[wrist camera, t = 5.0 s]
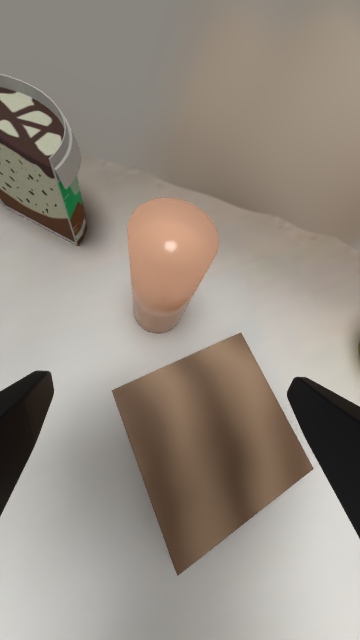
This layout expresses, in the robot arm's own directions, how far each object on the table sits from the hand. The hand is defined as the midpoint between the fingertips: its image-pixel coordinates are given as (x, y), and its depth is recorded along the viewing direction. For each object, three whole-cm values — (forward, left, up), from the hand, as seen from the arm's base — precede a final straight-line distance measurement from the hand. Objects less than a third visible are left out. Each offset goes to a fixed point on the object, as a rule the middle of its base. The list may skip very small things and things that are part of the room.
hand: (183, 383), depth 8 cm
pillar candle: (+3, +7, -13) cm, 16 cm away
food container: (-3, +23, -14) cm, 27 cm away
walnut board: (+3, -6, -13) cm, 15 cm away
